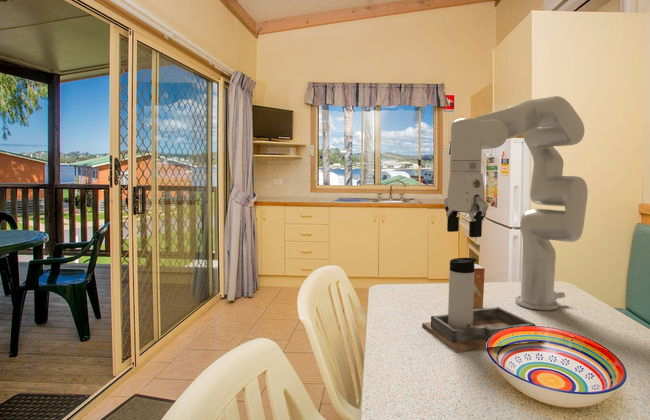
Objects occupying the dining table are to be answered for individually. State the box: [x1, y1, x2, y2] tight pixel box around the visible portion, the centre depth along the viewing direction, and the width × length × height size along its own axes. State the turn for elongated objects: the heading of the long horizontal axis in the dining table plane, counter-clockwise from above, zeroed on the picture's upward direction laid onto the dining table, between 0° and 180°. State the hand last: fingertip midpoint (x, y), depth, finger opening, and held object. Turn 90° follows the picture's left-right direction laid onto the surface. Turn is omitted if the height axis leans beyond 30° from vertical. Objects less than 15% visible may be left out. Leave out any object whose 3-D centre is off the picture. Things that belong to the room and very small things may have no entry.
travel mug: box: [447, 257, 477, 329], centre depth 104 cm, size 6×7×20 cm
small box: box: [473, 263, 486, 308], centre depth 131 cm, size 8×6×13 cm
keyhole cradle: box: [421, 306, 536, 353], centre depth 107 cm, size 25×17×4 cm
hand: (463, 234), depth 103 cm, fingers open, 9 cm apart
